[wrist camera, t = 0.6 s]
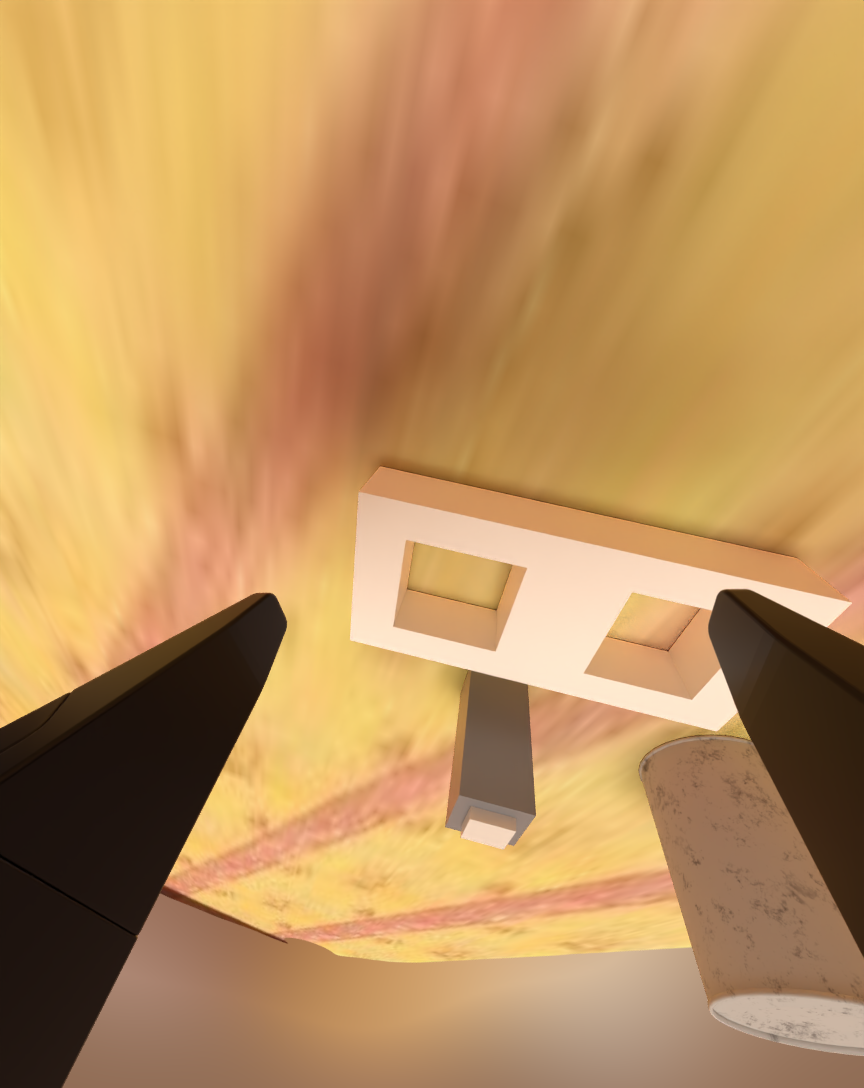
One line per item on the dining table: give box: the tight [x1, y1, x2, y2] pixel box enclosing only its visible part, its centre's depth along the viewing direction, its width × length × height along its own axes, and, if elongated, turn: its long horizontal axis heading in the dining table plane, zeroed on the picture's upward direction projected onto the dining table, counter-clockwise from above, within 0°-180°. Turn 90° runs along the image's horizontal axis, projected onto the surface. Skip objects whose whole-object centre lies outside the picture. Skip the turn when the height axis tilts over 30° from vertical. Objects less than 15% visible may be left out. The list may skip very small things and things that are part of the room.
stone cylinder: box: [639, 735, 864, 1056], centre depth 23 cm, size 10×10×12 cm
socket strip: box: [350, 466, 852, 731], centre depth 21 cm, size 22×10×4 cm, turn 80°
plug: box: [445, 670, 536, 849], centre depth 23 cm, size 4×4×10 cm
